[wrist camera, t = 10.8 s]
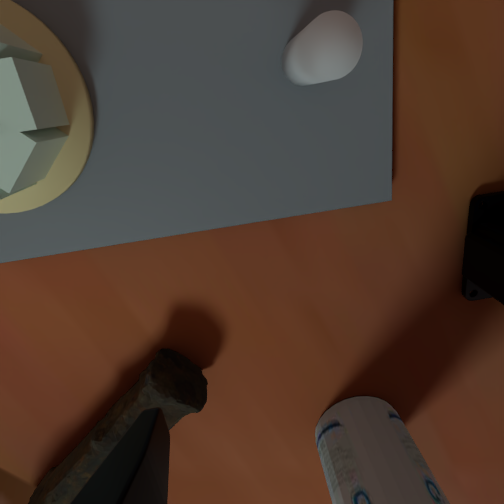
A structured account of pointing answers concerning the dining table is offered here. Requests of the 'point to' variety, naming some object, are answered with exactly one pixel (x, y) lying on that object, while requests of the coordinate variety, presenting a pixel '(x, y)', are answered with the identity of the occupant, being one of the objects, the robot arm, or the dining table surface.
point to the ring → (27, 115)
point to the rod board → (203, 116)
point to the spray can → (372, 456)
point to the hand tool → (127, 422)
